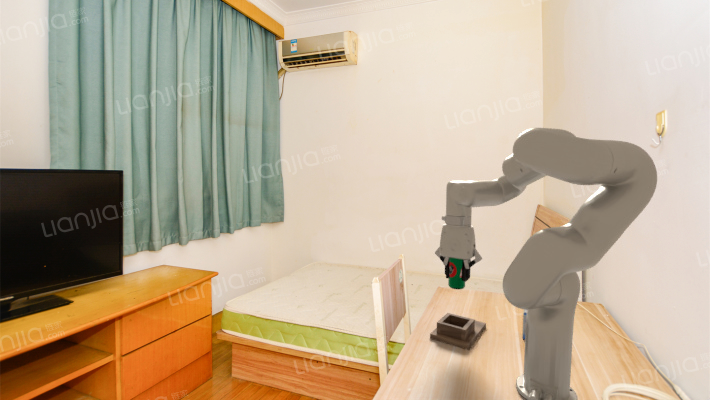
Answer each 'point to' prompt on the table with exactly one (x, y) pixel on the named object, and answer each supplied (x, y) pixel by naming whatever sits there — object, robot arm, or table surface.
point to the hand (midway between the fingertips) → (457, 278)
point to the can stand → (458, 330)
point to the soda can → (456, 273)
